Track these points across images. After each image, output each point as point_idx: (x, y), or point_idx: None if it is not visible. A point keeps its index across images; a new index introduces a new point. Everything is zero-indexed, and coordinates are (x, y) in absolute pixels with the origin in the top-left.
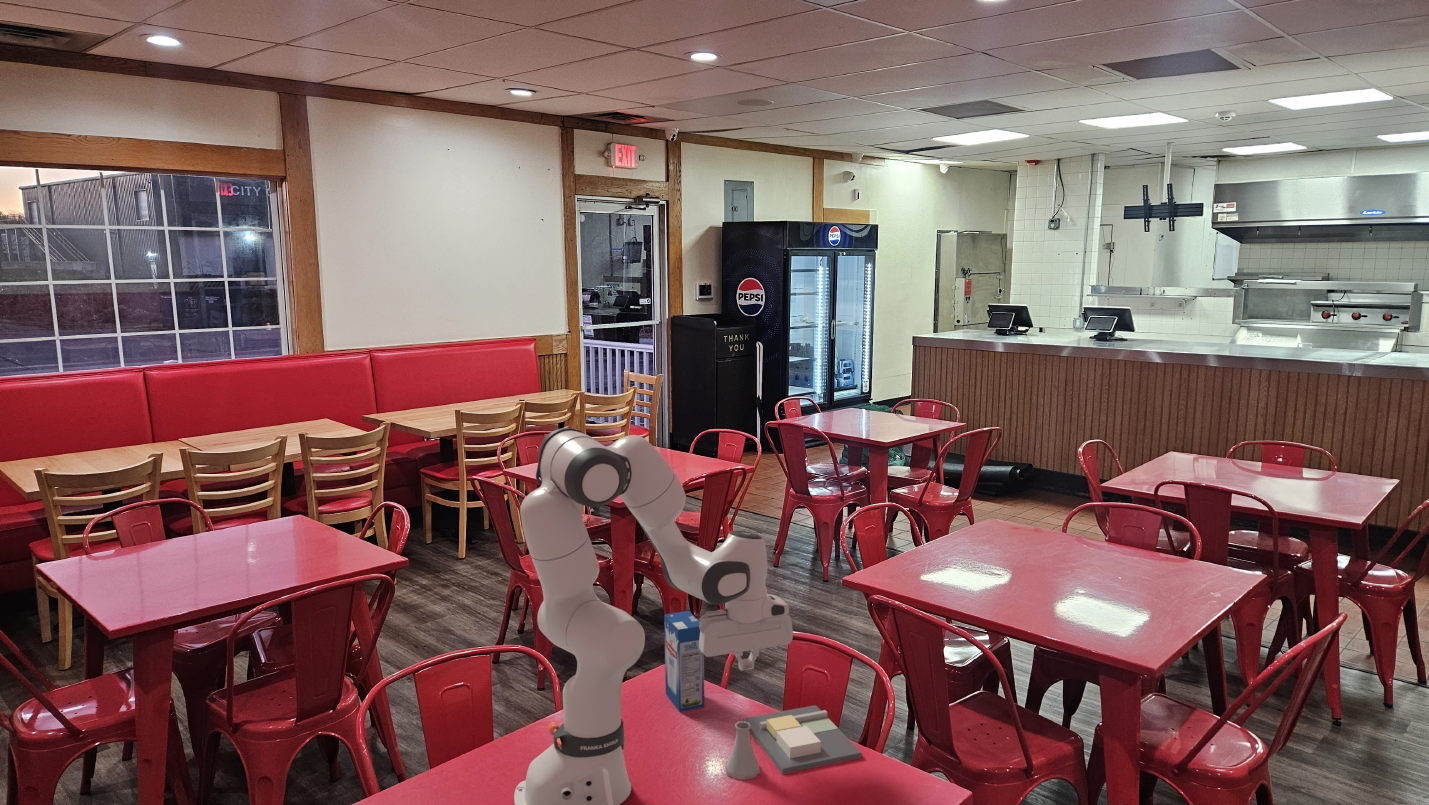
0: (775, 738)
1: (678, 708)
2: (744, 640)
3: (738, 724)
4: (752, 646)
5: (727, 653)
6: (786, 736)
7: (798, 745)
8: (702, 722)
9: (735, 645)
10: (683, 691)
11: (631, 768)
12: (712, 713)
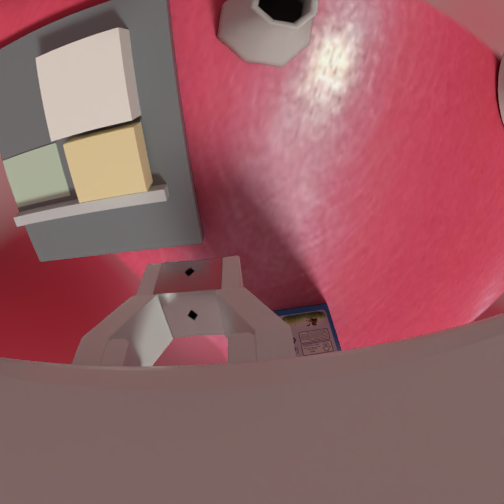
0: (140, 122)
1: (328, 310)
2: (216, 492)
3: (297, 21)
4: (114, 398)
5: (418, 338)
6: (110, 89)
7: (92, 37)
8: (295, 260)
9: (355, 427)
10: (326, 337)
11: (480, 132)
12: (261, 288)
